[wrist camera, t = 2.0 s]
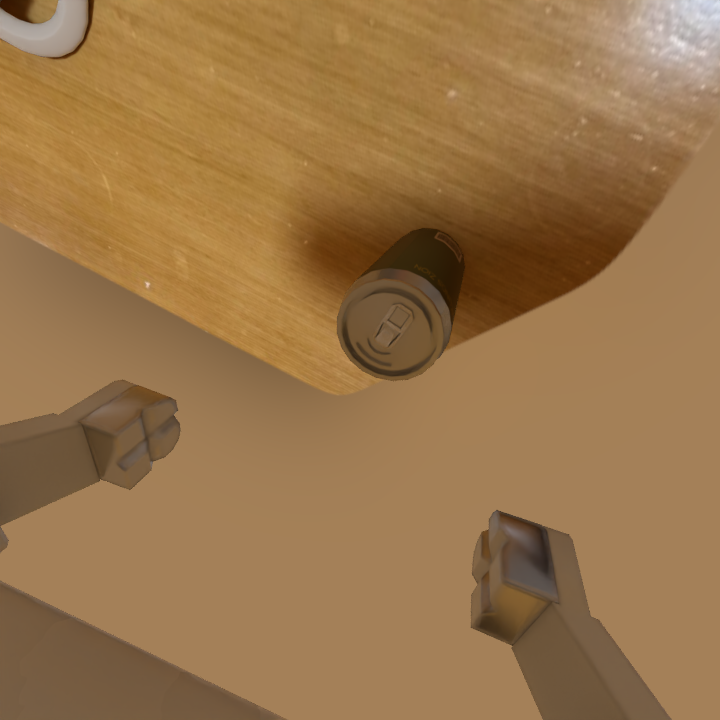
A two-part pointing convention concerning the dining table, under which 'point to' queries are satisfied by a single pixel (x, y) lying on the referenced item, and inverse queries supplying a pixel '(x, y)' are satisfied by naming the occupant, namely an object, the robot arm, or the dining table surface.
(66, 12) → the mug
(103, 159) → the dining table surface
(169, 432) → the robot arm
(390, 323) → the beer can
